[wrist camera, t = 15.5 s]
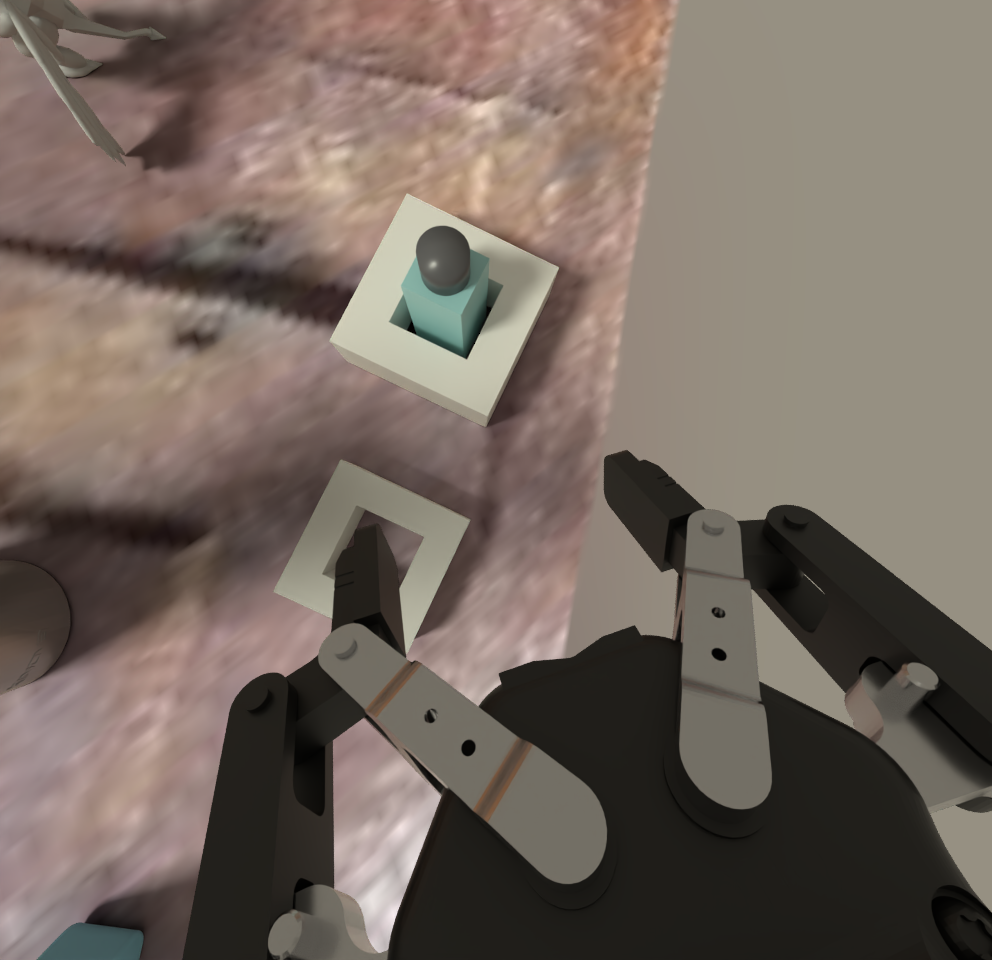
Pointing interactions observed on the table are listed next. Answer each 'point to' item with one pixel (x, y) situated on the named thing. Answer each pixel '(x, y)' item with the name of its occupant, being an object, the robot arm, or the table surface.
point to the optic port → (426, 366)
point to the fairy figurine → (63, 54)
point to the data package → (95, 944)
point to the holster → (336, 524)
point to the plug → (447, 290)
